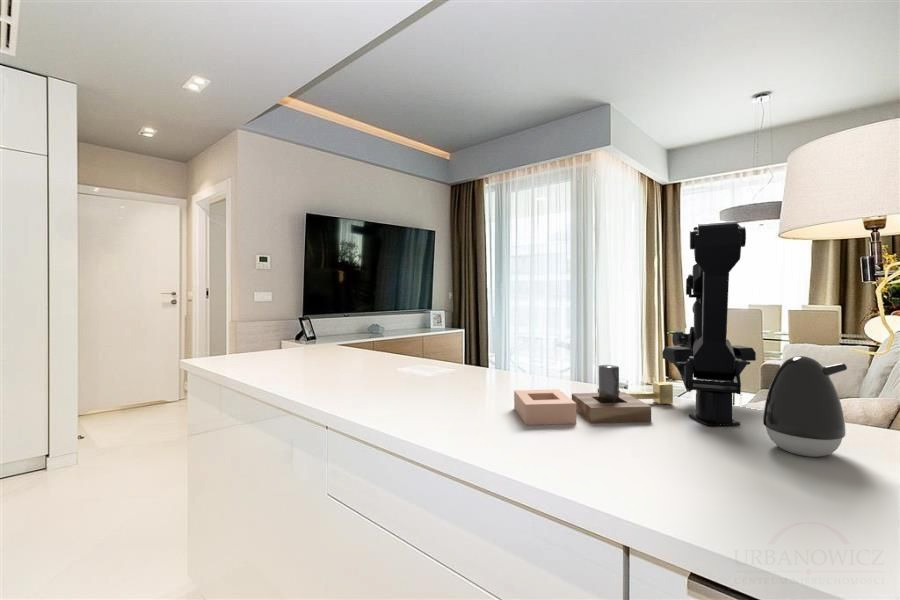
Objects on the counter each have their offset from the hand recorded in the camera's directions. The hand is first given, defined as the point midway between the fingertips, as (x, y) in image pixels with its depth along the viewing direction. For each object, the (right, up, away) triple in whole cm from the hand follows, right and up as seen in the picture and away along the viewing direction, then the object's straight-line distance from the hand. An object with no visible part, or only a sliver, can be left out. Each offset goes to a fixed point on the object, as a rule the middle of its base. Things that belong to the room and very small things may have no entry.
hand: (708, 391), depth 99 cm
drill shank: (-26, -3, -8) cm, 27 cm away
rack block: (-40, -3, -9) cm, 41 cm away
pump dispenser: (-3, -3, -30) cm, 31 cm away
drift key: (-15, -2, 0) cm, 15 cm away
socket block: (-26, -3, -7) cm, 27 cm away
